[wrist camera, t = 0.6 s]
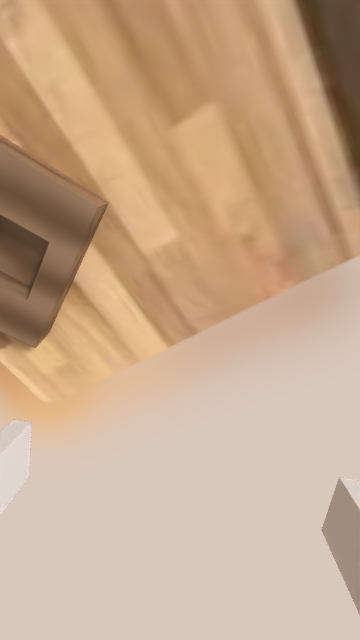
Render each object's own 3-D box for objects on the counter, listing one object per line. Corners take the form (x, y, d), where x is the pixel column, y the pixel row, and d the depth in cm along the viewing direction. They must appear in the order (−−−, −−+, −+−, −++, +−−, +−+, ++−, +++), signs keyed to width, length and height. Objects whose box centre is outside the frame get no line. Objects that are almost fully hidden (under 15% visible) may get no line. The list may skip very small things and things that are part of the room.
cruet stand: (-16, 125, 30) (-45, 119, 26) (108, 202, 32) (98, 206, 29) (-53, 282, 38) (-78, 293, 34) (49, 332, 41) (35, 348, 37)
